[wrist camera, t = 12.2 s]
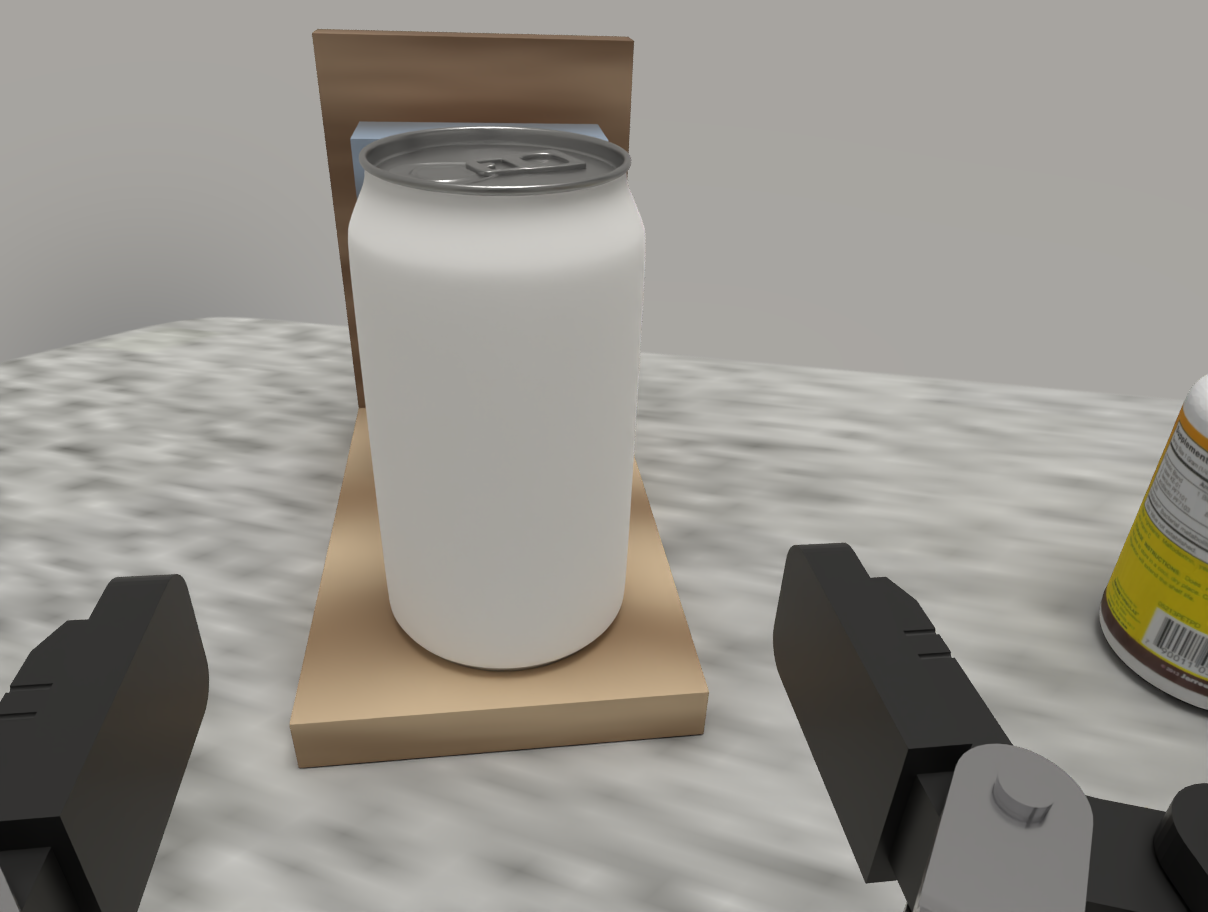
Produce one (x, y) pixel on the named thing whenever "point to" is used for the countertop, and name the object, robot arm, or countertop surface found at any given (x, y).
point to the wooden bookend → (355, 555)
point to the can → (500, 384)
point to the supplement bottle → (1168, 567)
